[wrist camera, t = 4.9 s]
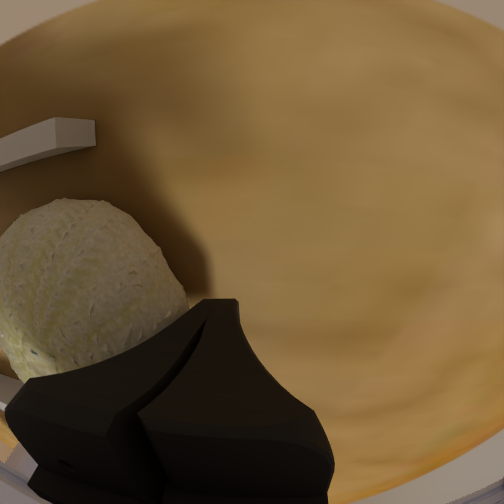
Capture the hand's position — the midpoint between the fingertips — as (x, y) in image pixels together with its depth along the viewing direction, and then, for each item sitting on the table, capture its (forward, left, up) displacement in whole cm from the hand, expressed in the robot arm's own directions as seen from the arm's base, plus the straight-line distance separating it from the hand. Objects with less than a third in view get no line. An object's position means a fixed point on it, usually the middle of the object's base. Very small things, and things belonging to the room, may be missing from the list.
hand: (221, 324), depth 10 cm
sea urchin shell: (-5, +3, -2) cm, 6 cm away
